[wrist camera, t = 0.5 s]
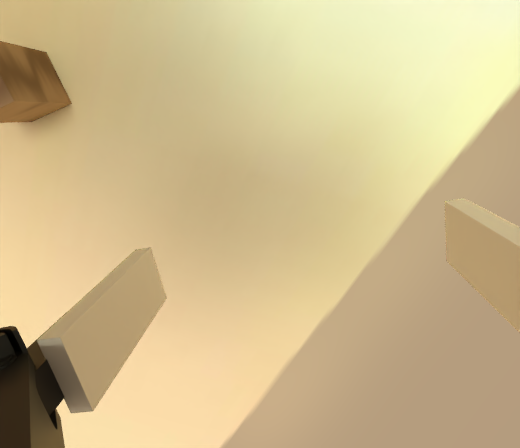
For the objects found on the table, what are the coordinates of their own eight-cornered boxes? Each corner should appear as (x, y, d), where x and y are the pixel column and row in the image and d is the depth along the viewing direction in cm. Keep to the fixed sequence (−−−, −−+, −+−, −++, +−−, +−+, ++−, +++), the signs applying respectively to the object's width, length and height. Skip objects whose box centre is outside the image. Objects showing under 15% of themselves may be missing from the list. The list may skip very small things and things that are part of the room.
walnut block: (5, 72, 41) (-71, 61, 32) (46, 52, 40) (-22, 35, 31) (31, 121, 42) (-34, 123, 34) (71, 103, 41) (14, 101, 33)
